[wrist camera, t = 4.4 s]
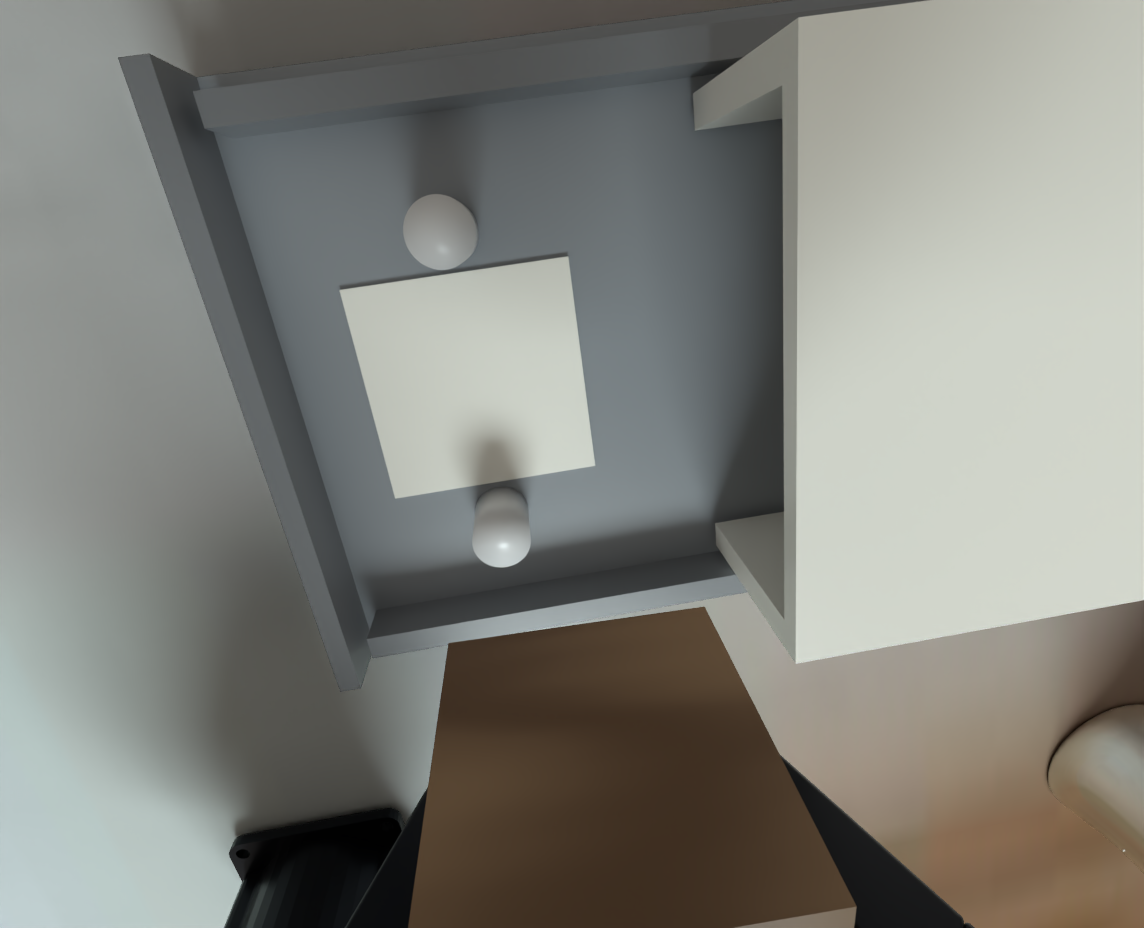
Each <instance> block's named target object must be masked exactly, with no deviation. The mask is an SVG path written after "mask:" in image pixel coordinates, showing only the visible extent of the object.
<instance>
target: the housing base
mask: <svg viewBox="0 0 1144 928" xmlns="http://www.w3.org/2000/svg"><path fill="white" fill-rule="evenodd" d="M920 1H928V0H790V1H782V2H774V3H767V4H759V5H751V6H744V7H736V8H728V9H720V10H713V11H705V12H697V13H689V14H682V15H674V16H666V17H658V18H651V19H643V20H635V21H628V22H620V23H612V24H604V25H597V26H589V27H581V28H573V29H566V30H558V31H550V32H542V33H535V34H527V35H519V36H511V37H504V38H496V39H488V40H481V41H473V42H465V43H457V44H450V45H442V46H434V47H426V48H419V49H411V50H403V51H395V52H388V53H380V54H372V55H365V56H357V57H349V58H341V59H334V60H326V61H318V62H310V63H303V64H295V65H287V66H279V67H272V68H264V69H256V70H249V71H241V72H233V73H225V74H218V75H210V76H202V77H195V76H193V75H191V74H189V73H187V72H185V71H183V70H181V69H179V68H177V67H175V66H173V65H171V64H169V63H167V62H165V61H163V60H161V59H159V58H157V57H155V56H153V55H151V54H142V55H134V56H126V57H118V59H119V62H120V65H121V68H122V71H123V73H124V76H125V79H126V82H127V85H128V88H129V91H130V93H131V96H132V99H133V102H134V105H135V108H136V111H137V113H138V116H139V119H140V122H141V125H142V128H143V131H144V133H145V136H146V139H147V142H148V145H149V148H150V150H151V153H152V156H153V159H154V162H155V165H156V168H157V170H158V173H159V176H160V179H161V182H162V185H163V188H164V190H165V193H166V196H167V199H168V202H169V205H170V207H171V210H172V213H173V216H174V219H175V222H176V225H177V227H178V230H179V233H180V236H181V239H182V242H183V245H184V247H185V250H186V253H187V256H188V259H189V262H190V264H191V267H192V270H193V273H194V276H195V279H196V282H197V284H198V287H199V290H200V293H201V296H202V299H203V302H204V304H205V307H206V310H207V313H208V316H209V319H210V321H211V324H212V327H213V330H214V333H215V336H216V339H217V341H218V344H219V347H220V350H221V353H222V356H223V359H224V361H225V364H226V367H227V370H228V373H229V376H230V378H231V381H232V384H233V387H234V390H235V393H236V396H237V398H238V401H239V404H240V407H241V410H242V413H243V416H244V418H245V421H246V424H247V427H248V430H249V433H250V435H251V438H252V441H253V444H254V447H255V450H256V453H257V455H258V458H259V461H260V464H261V467H262V470H263V473H264V475H265V478H266V481H267V484H268V487H269V490H270V492H271V495H272V498H273V501H274V504H275V507H276V510H277V512H278V515H279V518H280V521H281V524H282V527H283V530H284V532H285V535H286V538H287V541H288V544H289V547H290V550H291V552H292V555H293V558H294V561H295V564H296V567H297V569H298V572H299V575H300V578H301V581H302V584H303V587H304V589H305V592H306V595H307V598H308V601H309V604H310V607H311V609H312V612H313V615H314V618H315V621H316V624H317V626H318V629H319V632H320V635H321V638H322V641H323V644H324V646H325V649H326V652H327V655H328V658H329V661H330V664H331V666H332V669H333V672H334V675H335V678H336V681H337V683H338V686H339V689H340V692H342V691H347V690H353V689H358V688H361V686H362V683H363V680H364V676H365V673H366V670H367V667H368V664H369V660H370V657H371V655H372V658H377V657H383V656H388V655H394V654H400V653H405V652H411V651H417V650H422V649H428V648H434V647H439V646H445V645H448V644H449V643H452V642H459V641H466V640H474V639H481V638H488V637H495V636H502V635H508V634H513V633H519V632H525V631H530V630H536V629H542V628H547V627H553V626H559V625H564V624H570V623H576V622H581V621H587V620H593V619H598V618H604V617H610V616H615V615H621V614H627V613H632V612H638V611H644V610H649V609H655V608H661V607H666V606H672V605H678V604H683V603H689V602H695V601H700V600H706V599H712V598H717V597H723V596H729V595H734V594H740V593H746V592H747V590H746V589H745V587H744V586H743V584H742V583H741V582H740V580H739V579H738V577H737V576H736V574H735V573H734V571H733V570H732V568H731V567H730V565H729V564H728V562H727V561H726V559H725V558H724V556H723V555H722V553H721V552H720V550H719V549H718V547H717V546H716V531H715V523H719V522H725V521H731V520H737V519H743V518H748V517H754V516H760V515H766V514H772V513H778V512H784V379H783V130H782V119H775V120H768V121H761V122H753V123H746V124H739V125H732V126H725V127H717V128H710V129H703V130H696V131H695V124H694V105H693V93H694V92H696V91H697V90H699V89H700V88H701V87H703V86H704V85H706V84H707V83H708V82H710V81H711V80H712V79H714V78H715V77H717V76H718V75H719V74H721V73H722V72H724V71H725V70H726V69H728V68H729V67H730V66H732V65H733V64H735V63H736V62H737V61H739V60H740V59H742V58H743V57H744V56H746V55H747V54H748V53H750V52H751V51H753V50H754V49H755V48H757V47H758V46H760V45H761V44H762V43H764V42H765V41H766V40H768V39H769V38H771V37H772V36H773V35H775V34H776V33H778V32H779V31H780V30H782V29H783V28H784V27H786V26H787V25H789V24H790V23H791V22H793V21H794V20H796V19H797V18H798V17H805V16H813V15H820V14H828V13H836V12H843V11H851V10H859V9H866V8H874V7H882V6H889V5H897V4H905V3H912V2H920Z"/></svg>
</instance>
